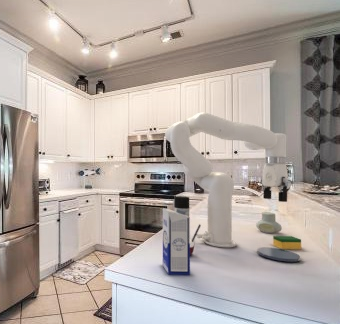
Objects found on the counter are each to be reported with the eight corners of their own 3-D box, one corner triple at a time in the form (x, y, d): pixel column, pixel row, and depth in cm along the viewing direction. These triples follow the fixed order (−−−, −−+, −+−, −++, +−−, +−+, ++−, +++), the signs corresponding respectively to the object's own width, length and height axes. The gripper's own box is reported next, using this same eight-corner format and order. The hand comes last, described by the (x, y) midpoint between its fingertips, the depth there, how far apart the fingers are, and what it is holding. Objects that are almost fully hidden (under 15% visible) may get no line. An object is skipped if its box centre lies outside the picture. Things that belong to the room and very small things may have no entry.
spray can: (178, 236, 121) (178, 195, 121) (191, 239, 116) (191, 196, 116) (171, 239, 116) (171, 196, 116) (185, 242, 111) (185, 198, 112)
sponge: (281, 248, 104) (281, 239, 104) (273, 245, 109) (273, 236, 109) (301, 249, 104) (301, 239, 104) (291, 245, 109) (291, 236, 109)
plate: (272, 263, 88) (272, 258, 88) (249, 250, 101) (249, 247, 101) (310, 263, 88) (310, 259, 88) (282, 251, 101) (282, 247, 101)
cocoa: (171, 253, 97) (171, 222, 97) (177, 249, 102) (177, 220, 102) (196, 260, 91) (196, 226, 91) (202, 255, 95) (202, 224, 96)
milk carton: (162, 265, 85) (162, 207, 85) (182, 266, 85) (182, 207, 85) (168, 274, 78) (168, 210, 78) (190, 275, 78) (190, 210, 78)
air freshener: (254, 231, 132) (254, 212, 132) (258, 228, 138) (258, 210, 138) (279, 235, 124) (279, 215, 124) (283, 232, 130) (283, 213, 130)
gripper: (254, 161, 119) (253, 197, 119) (280, 160, 102) (280, 202, 102) (270, 162, 119) (270, 198, 119) (299, 161, 102) (299, 203, 101)
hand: (274, 200), depth 110 cm, fingers open, 9 cm apart
